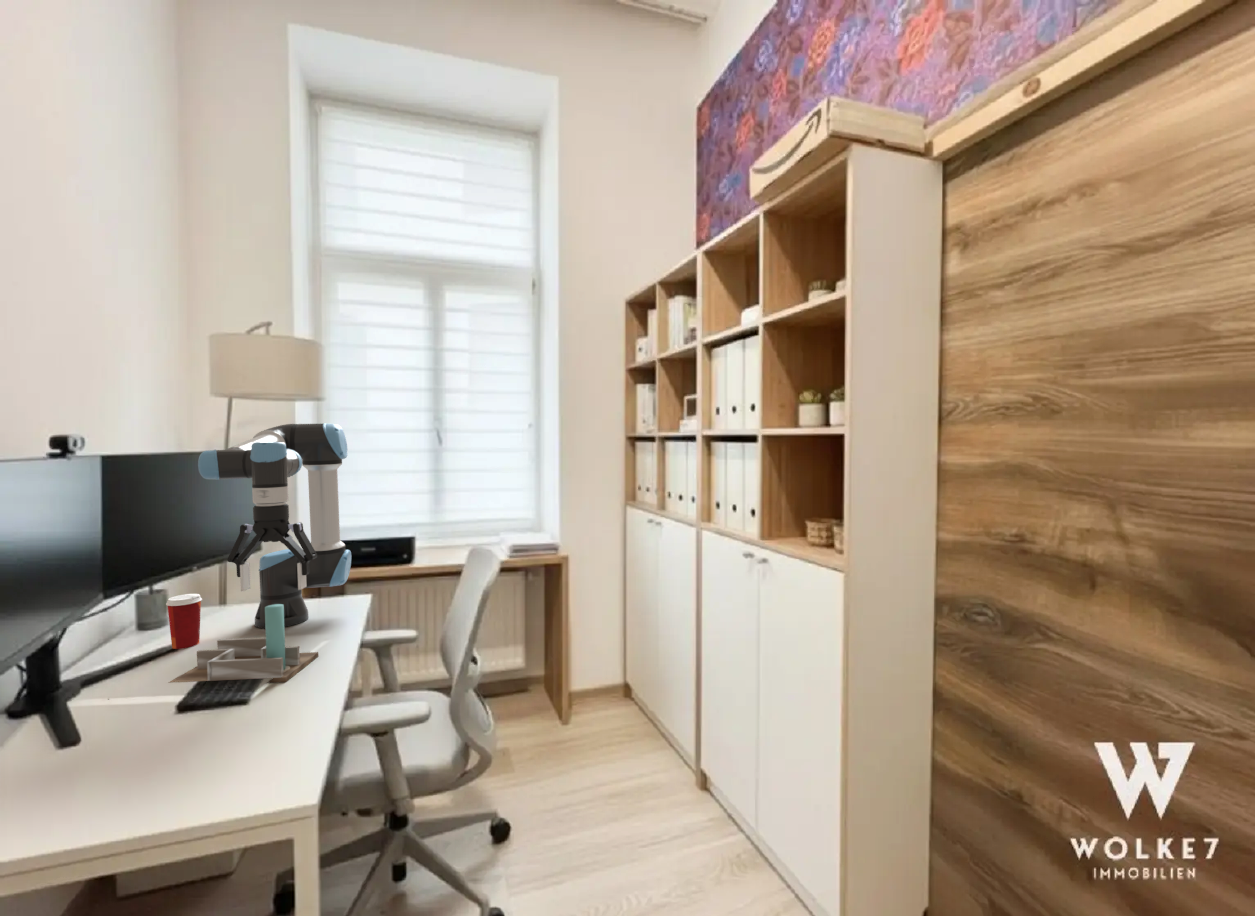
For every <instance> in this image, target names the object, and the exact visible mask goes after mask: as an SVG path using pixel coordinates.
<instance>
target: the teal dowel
mask: <svg viewBox="0 0 1255 916" xmlns="http://www.w3.org/2000/svg"><path fill="white" fill-rule="evenodd" d="M264 629H265V638H266V658H283V670H285V669H286V664H285V647H286V640H285V639H286V637H285V636H286V635H285V634H286V633H285V627H284V605H283V604H274V605H269V606H266V607H265V628H264Z"/></svg>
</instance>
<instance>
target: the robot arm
mask: <svg viewBox="0 0 1255 916" xmlns="http://www.w3.org/2000/svg"><path fill="white" fill-rule="evenodd" d="M346 438H347V437H346V434H345V432H344V430H343V427H342V426H341V425H339V424H336V423H326V422H324V423H287V424H281V425H278V426H277V425H276V426H273V427H269V428H267V429H263V430H261V431H259V432H257V433H256V434H255V435H254V436H253V437H252V438H250V439H248V440H245V441H243V442H240V443H238V444H236V445H233V446H231V447H229V448H226V449H212V450H210V449H209V450H204V451H202V452H201V453H200V454H199V457H198V461H197V467H198V469H197V470H198V473H199V474H200V476H201V478H203V479H205V480H217V481H220V480H235V479H236V480H237V479H251V487H252V488H251V491H252V504H254V505H253V507H252V515H253V516H252V517H253V518H252V520H253V522H254V523H253V524H251V523H243V524H241V525H240V526H239V534H238V537H237V539H236V540H235V543H234V545H233V546H232V549H231V551H230V553H229V555H228V557H227V560H226V561H227V562H228V563H232V564H235V566H236V577H237V578H240V580H239V581H240V592H245V591H247V590H250V589H251V574H250V573H251V572H250V571H251V569H250V567H251V566H250V562H248V561H247V560H249V558H250V557H251V556H252V554H253V553H254V552H255V551H256V550H257V548H258V547H259V546H260V545H261V544H262V543H269V542H272V543H277V542H280V543H281V544H283V545H284V546H285V547H286V548H287V549H281V550H277V551H273V552H269V553H266V554H264V555H262V556H261V557H260V558H259V568H258V572H259V573H258V574H259V575H258V576H259V593H260V594H259V595H260V596H259V597H260V600H259V604H258V607H257V611H256V614H255V617H254V627H256V628H259V629H265V607H266V606H269V605H274V604H283V605H284V628H285V627H289V626H294V625H298V624H300V623H303V622H306V621H307V620H308V619H309V610H308V607H307V605H306V603H305V599H304V598H303V595H302V594H303V592H302V590H303V589H308V588H310V589H311V588H326V587H330V588H332V587H338V586H343V585H344V584H345V583H347V581H348V578H349V576H350V572H351V566H352V552H351V550H350V549H346V544H345V543H344V541H342V540H341V536H340V534H341V529H340V510H339V509H340V507H339V506H340V505H339V501H340V500H339V482H338V481H339V479H338V469H339V468H340V467H341V466H342V465H343V460H344V459H346V458H347V456H348V444H347V439H346ZM302 466H303V467H304V468H305V469H306V470H307V480H308V483H307V484H308V502H309V503H308V505H309V527H310V529H309V530H310V540H309V537H308V536H307V534H306V532H305V530H304V525H303V523H302V521H299V522H296V523H290V522H289V518H290V513H289V512H290V508H289V504H288V502H289V488H288V486H289V484H288V481H289V480H288V478H290V477H293V476H294V475H296V474H297V473H299V471H300V470H301V469H302ZM290 531H291V532H292V533H293V534H294V536H295V539H296V540H297V542H298V543H299V544H298V543H297V542H296V541H295V540H294V539H293V536H292V535H291V534H290V533H289V532H290ZM252 532H254V533H255V536H254V537H253V539H252V540H251V541H250V543H249V544H248V546H246V548H245V549H244V547H245V545H246V543H247V541H248V539H249V537H250V534H251V533H252Z"/></svg>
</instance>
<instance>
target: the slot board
mask: <svg viewBox="0 0 1255 916" xmlns="http://www.w3.org/2000/svg"><path fill="white" fill-rule="evenodd" d="M216 647H217V648H215V649H198V650H197V651H196V662H197V663H196V664H197V665H196V666H195V667H193V668H191V669H190V670H188V671H185V672H184V673H182V674H180V675H179V676H177V677H175V678H173V679H171V680H170V681H168V683H188V682H190V683H191V682H206V681H207V682H212V681H213V682H214V681H216V682H217V681H233V680H234V681H235V680H236V681H237V680H239V681H240V680H257V679H258V680H259V679H260V680H261V679H269V680H268V681H266V684H273V683H274V684H275V683H277V684H278V683H287V682H288V681H289V680H290V679H292V678H293V677H295V676H296V675H297V674H298V673H299V672H301V671H302V670H303V669H305V668H306V667H307V666H308V665H310V664H311V663H312V662H313V661H315V660H316V659H317V658H318V657H319V652H318V651H315V652H313V651H312V652H300V646H299V645H295V646H294V645H293V646H292V645H291V646H285V664H286V669H285V670H283V658H266V637H249V638H247V637H246V638H226V639H218V640H216Z"/></svg>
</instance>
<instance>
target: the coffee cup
mask: <svg viewBox="0 0 1255 916" xmlns="http://www.w3.org/2000/svg"><path fill="white" fill-rule="evenodd" d="M202 601H203V598H202V597H201V594H199V593H185V594H179V595H175V596H171V597H169V598H168V600H167V602H166V603H165V605H166V606H167V614H168V623H169V632H170V640H171V641H170V642H171V648H172V649H175V650H181V649H183V650H184V649H188V648H191V647H195V646H197V645H199V644H200V636H201V634H200V633H201V609H202V608H201V607H202Z"/></svg>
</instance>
